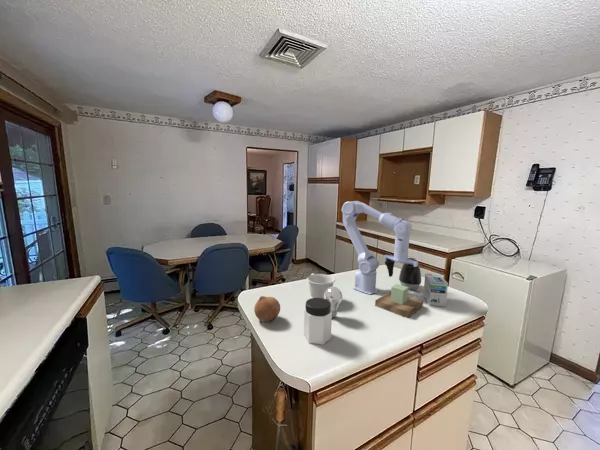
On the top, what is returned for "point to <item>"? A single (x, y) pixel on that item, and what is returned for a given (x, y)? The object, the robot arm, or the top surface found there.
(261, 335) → the top surface
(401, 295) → the green block
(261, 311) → the onion
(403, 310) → the walnut base
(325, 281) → the teacup
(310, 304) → the jar
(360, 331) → the top surface
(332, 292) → the light bulb
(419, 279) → the black egg-shaped speaker
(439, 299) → the light bulb box
